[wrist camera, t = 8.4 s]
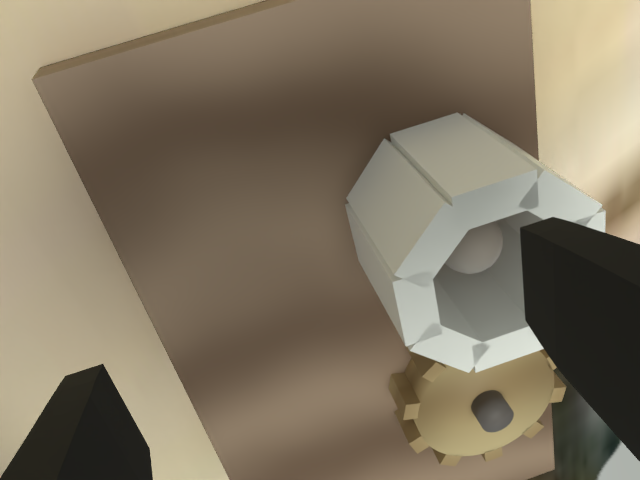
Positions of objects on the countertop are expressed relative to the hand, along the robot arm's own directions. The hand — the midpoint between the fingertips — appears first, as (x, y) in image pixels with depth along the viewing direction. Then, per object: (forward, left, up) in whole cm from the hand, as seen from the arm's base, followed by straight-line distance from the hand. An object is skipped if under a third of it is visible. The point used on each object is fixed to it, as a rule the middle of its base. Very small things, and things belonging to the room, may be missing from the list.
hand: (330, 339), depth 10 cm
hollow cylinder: (0, -6, -8) cm, 10 cm away
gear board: (-5, -6, -9) cm, 12 cm away
